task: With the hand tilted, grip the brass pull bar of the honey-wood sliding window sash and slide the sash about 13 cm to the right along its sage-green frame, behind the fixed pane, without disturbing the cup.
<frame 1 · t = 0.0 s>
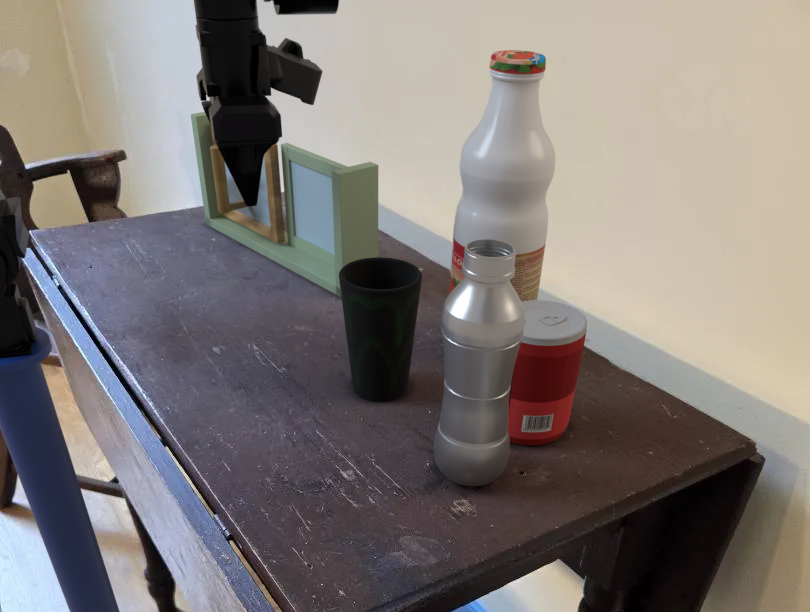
hand: (245, 191, 83), 14 cm above the table, tool pointing down, fingers open, 9 cm apart
fruit juice: (487, 347, 87), on the table
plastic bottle: (468, 474, 69), on the table
cup: (380, 389, 80), on the table
sash: (233, 185, 103), point 8 cm above the table, slide at 0.0 cm
canned food: (526, 426, 75), on the table
window frame: (253, 239, 109), on the table
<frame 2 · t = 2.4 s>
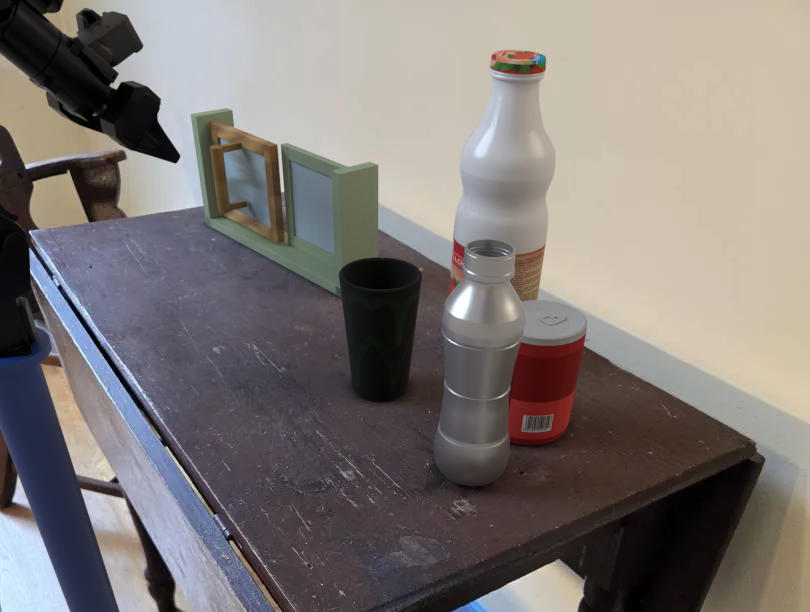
hand: (158, 150, 93), 13 cm above the table, tool tilted 45°, fingers open, 9 cm apart
nothing on the table moved.
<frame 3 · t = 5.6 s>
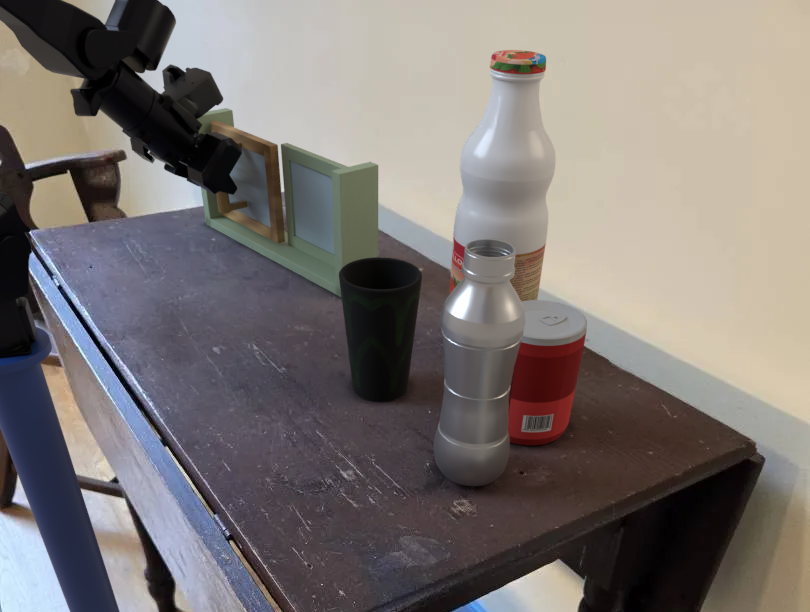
hand: (231, 189, 103), 7 cm above the table, tool tilted 45°, fingers closed on sash, 2 cm apart
sash: (234, 185, 103), point 8 cm above the table, slide at 0.0 cm, touching gripper
everything else where it was.
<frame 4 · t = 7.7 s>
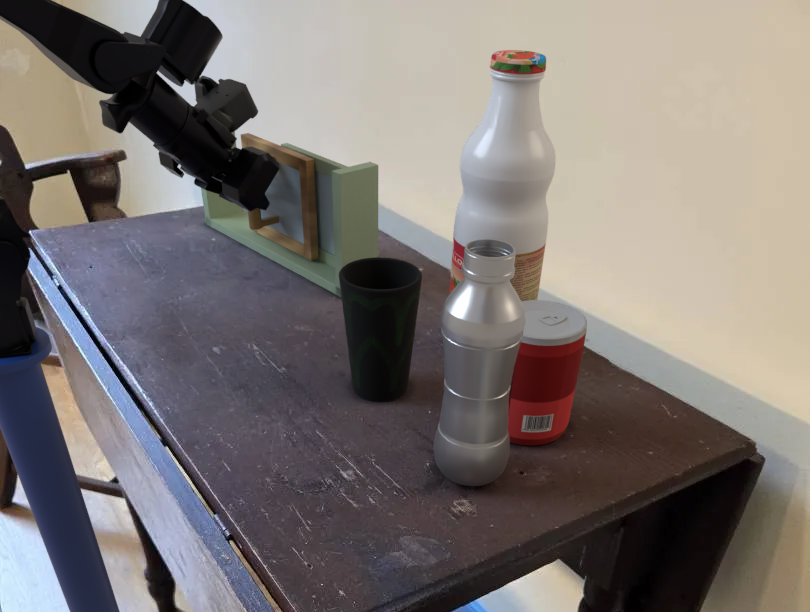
hand: (262, 204, 99), 7 cm above the table, tool tilted 45°, fingers closed on sash, 2 cm apart
sash: (266, 200, 99), point 8 cm above the table, slide at 7.5 cm, touching gripper
everything else where it was.
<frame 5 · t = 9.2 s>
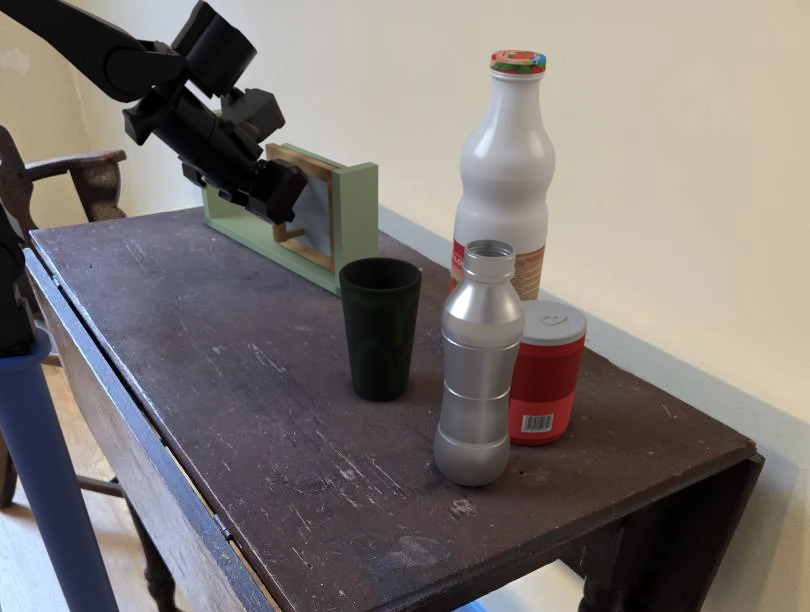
hand: (288, 216, 96), 7 cm above the table, tool tilted 45°, fingers closed on sash, 2 cm apart
sash: (291, 212, 96), point 8 cm above the table, slide at 13.0 cm, touching gripper
everything else where it was.
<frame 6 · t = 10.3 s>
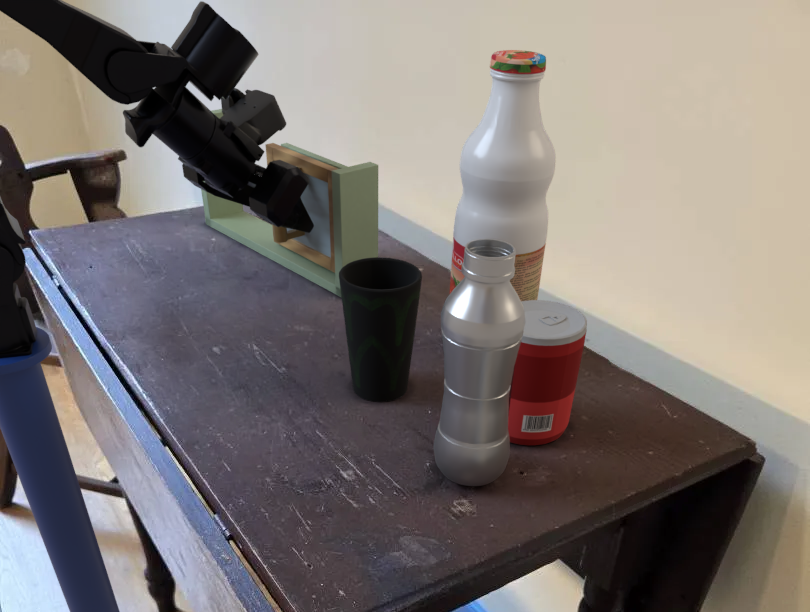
hand: (288, 218, 96), 7 cm above the table, tool tilted 45°, fingers open, 9 cm apart
sash: (291, 212, 95), point 8 cm above the table, slide at 13.0 cm
everything else where it was.
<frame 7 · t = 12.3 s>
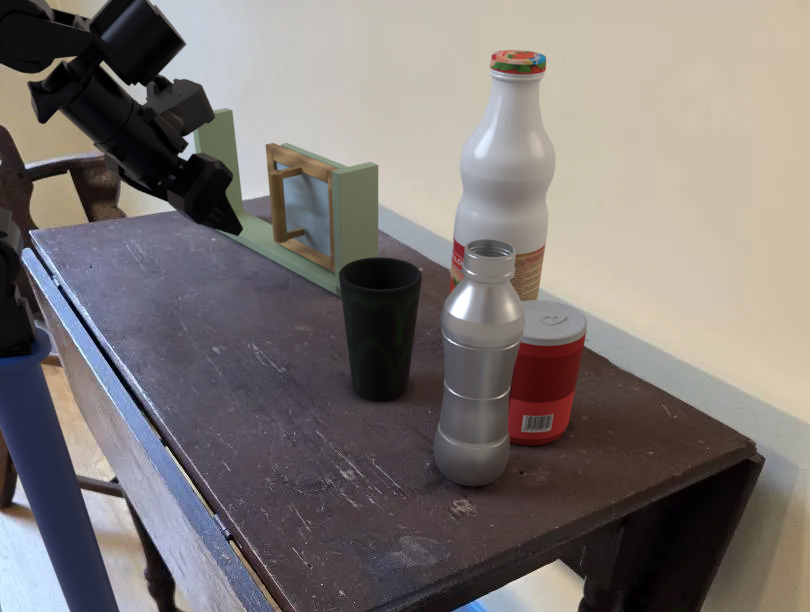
hand: (218, 220, 89), 9 cm above the table, tool tilted 40°, fingers open, 9 cm apart
nothing on the table moved.
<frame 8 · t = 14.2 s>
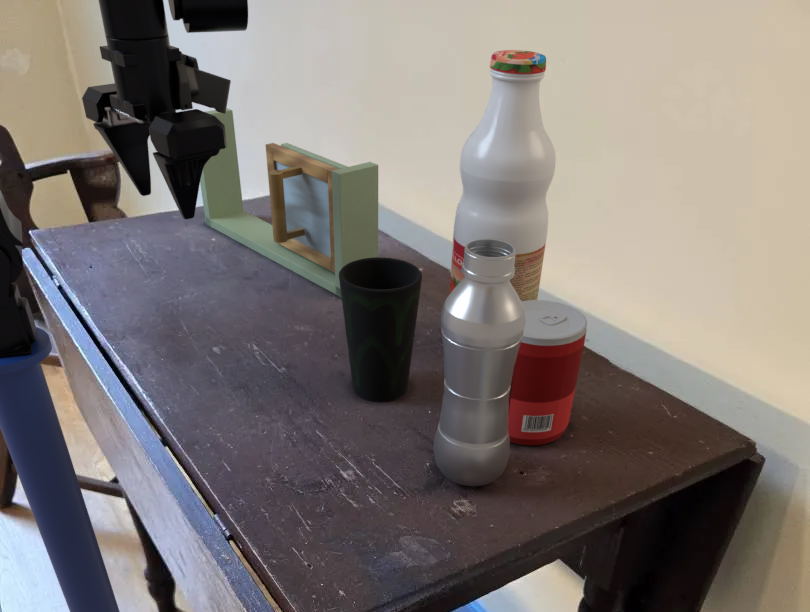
hand: (166, 206, 83), 12 cm above the table, tool pointing down, fingers open, 9 cm apart
nothing on the table moved.
at the end: sash slide at 13.0 cm; cup moved 0.2 cm from its start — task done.
